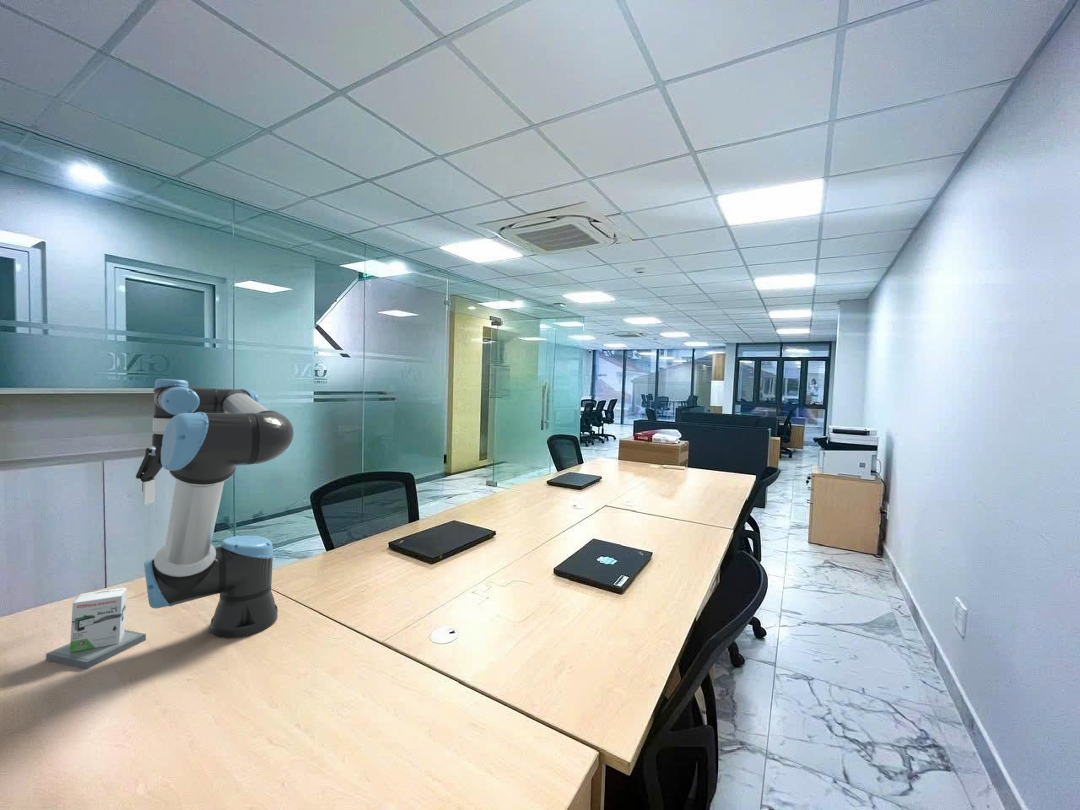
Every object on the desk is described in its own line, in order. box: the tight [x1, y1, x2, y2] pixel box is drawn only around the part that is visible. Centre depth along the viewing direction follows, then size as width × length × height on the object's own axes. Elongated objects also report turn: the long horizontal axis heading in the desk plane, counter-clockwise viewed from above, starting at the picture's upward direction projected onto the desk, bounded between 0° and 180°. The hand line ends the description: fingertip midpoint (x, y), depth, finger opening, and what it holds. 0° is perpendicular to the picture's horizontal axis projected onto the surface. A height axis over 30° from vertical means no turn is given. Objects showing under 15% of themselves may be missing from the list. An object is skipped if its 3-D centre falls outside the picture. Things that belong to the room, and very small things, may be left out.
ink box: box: [70, 587, 127, 653], centre depth 102 cm, size 9×5×12 cm, turn 124°
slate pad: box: [45, 629, 147, 670], centre depth 103 cm, size 12×12×2 cm
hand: (167, 505), depth 124 cm, fingers open, 13 cm apart
